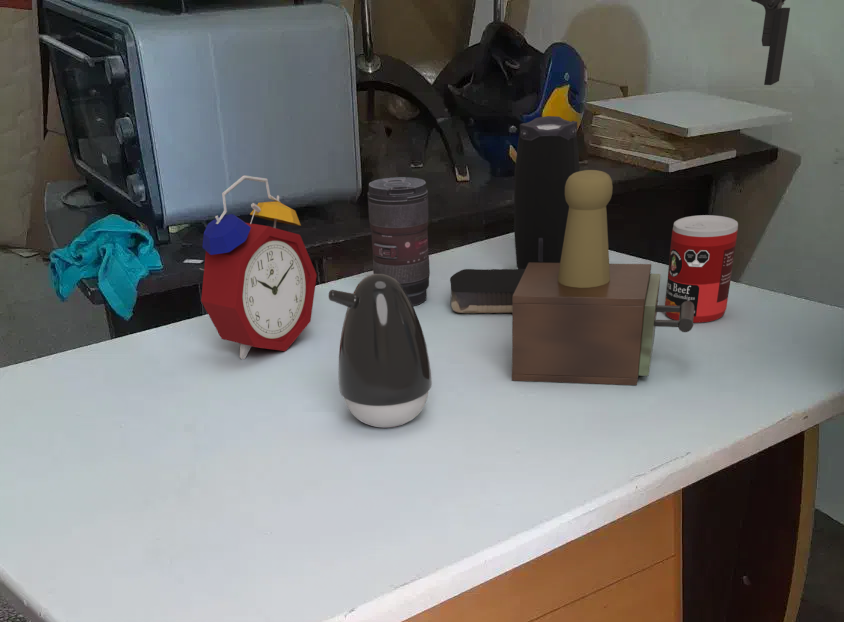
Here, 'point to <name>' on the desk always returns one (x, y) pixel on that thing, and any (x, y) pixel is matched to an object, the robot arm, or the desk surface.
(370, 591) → the desk surface
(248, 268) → the alarm clock
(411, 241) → the camera lens
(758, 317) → the desk surface
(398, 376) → the pump dispenser
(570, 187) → the tan game pawn
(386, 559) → the desk surface
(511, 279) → the scrub brush
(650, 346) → the drawer
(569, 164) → the portable speaker
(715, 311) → the canned food
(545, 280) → the cabinet
